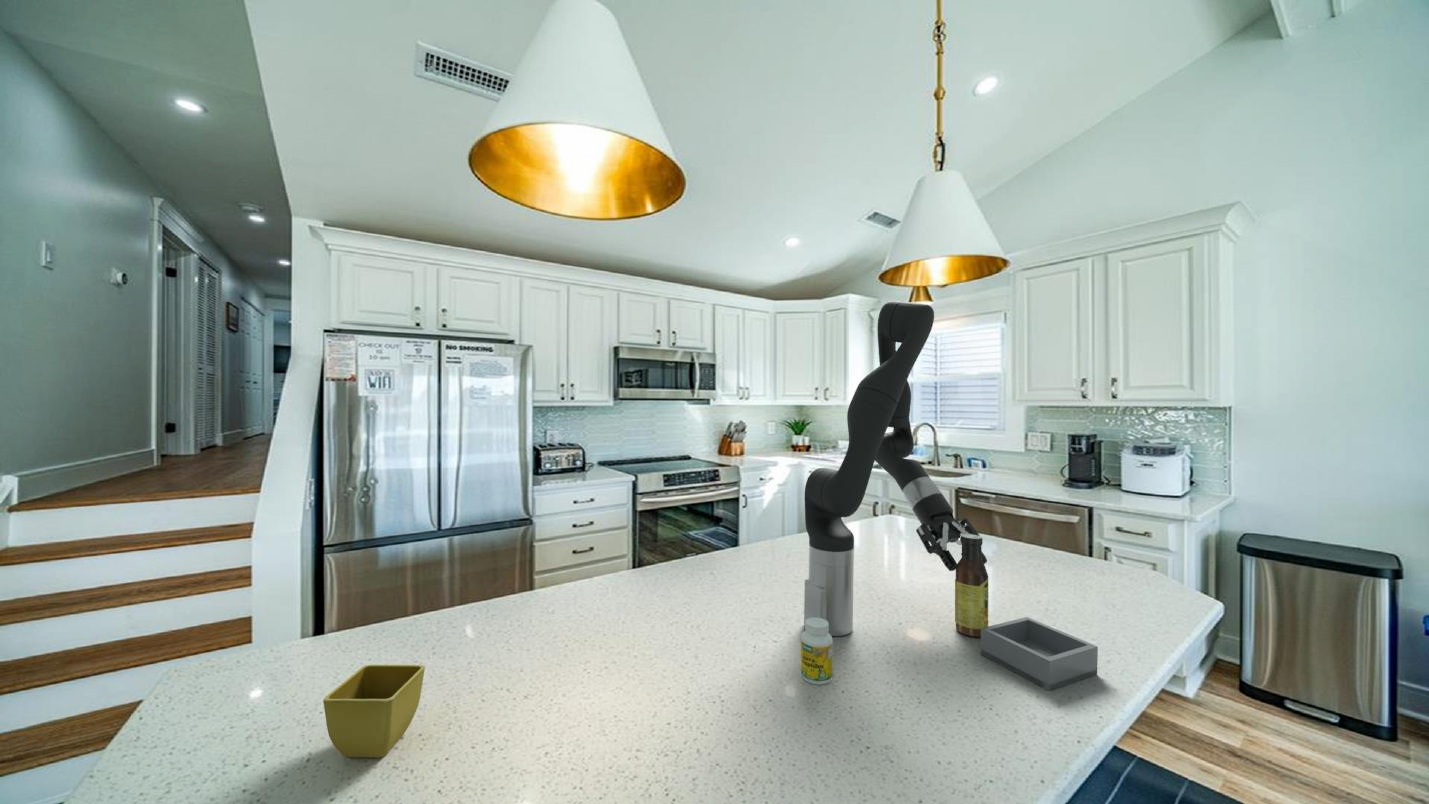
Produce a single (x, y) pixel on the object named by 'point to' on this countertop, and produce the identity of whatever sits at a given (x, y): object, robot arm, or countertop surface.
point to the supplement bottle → (816, 652)
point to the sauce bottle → (971, 588)
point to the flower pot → (373, 708)
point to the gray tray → (1039, 652)
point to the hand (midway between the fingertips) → (969, 566)
